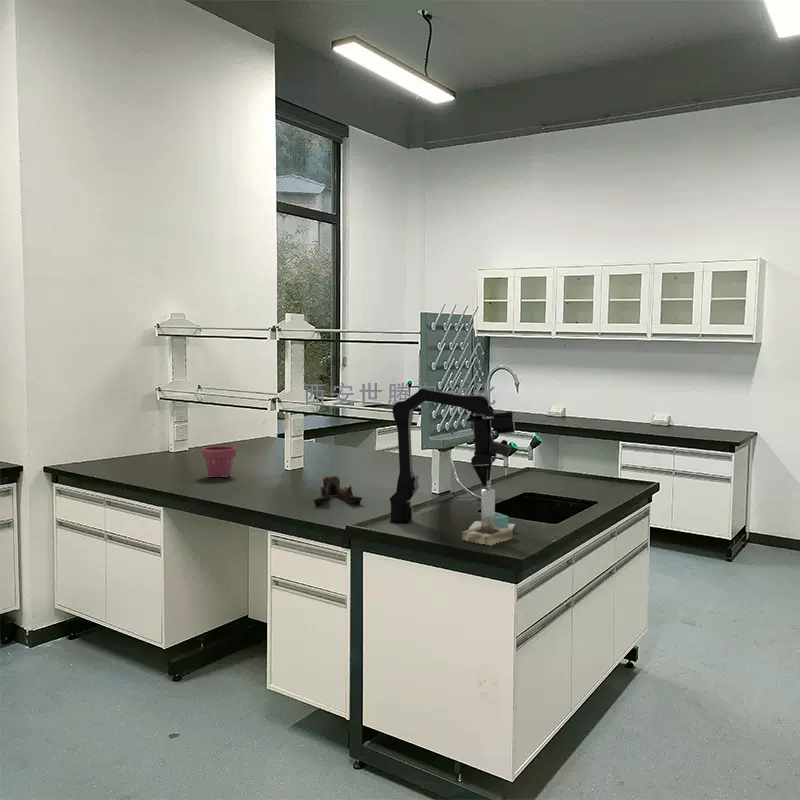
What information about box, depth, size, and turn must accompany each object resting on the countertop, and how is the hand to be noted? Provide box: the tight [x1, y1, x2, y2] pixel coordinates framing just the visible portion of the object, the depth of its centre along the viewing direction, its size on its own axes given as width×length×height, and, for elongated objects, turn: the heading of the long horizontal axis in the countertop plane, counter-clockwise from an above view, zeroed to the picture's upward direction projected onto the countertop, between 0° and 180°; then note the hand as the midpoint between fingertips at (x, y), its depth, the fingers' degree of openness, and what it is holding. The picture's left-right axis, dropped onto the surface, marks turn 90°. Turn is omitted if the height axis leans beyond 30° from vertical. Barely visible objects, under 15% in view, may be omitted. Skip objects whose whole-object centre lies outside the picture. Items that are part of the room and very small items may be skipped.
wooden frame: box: [461, 526, 514, 547], centre depth 219 cm, size 10×12×2 cm
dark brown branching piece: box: [312, 473, 364, 507], centre depth 273 cm, size 17×25×10 cm
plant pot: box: [202, 445, 237, 477], centre depth 321 cm, size 14×14×13 cm
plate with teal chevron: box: [468, 511, 516, 531], centre depth 232 cm, size 13×11×4 cm
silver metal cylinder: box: [480, 488, 496, 535], centre depth 218 cm, size 4×4×15 cm
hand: (486, 483), depth 234 cm, fingers open, 9 cm apart
